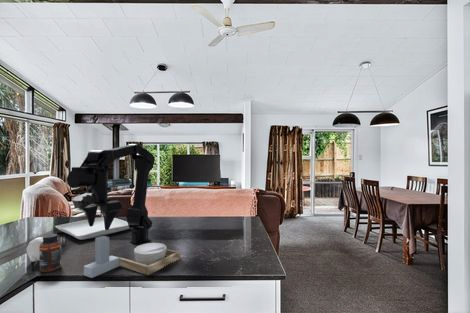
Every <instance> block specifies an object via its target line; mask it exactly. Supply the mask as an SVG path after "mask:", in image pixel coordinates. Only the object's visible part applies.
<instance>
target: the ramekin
mask: <svg viewBox="0 0 470 313" xmlns="http://www.w3.org/2000/svg"><path fill="white" fill-rule="evenodd" d="M166 249H168V248H167V245H166V244H164V243H160V242H148V243H147V242H146V243H143V244H138V245H137V246H136V247H135V248H134V249H133V253H134V256H135V262H138V263H141V264H145V265H148V266H149V265H151V264H153V263H155V262H157V261H159V260H161V259H163V258H165V253H166Z"/></svg>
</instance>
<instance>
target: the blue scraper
mask: <svg viewBox="0 0 470 313" xmlns="http://www.w3.org/2000/svg"><path fill="white" fill-rule="evenodd" d="M94 238H95V239H94V242H95V243H94V245H95V246H94V252H95V253H94V256H95V257H94V259H95V260H94V261H93V262H91V263H88V264H85V265H83V275H84V276H85V277H86V278H91V279H93V278H95V277H97V276H99V275H102V274H104V273H107V272H109V271H111V270H114V269H115V268H118V267H120V266H119V258H120V257H119V256H114V255H110V237H109V236H107V235H103V236H99V237H94Z"/></svg>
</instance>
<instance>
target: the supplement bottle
mask: <svg viewBox="0 0 470 313" xmlns="http://www.w3.org/2000/svg"><path fill="white" fill-rule="evenodd" d="M42 237H43V242H42V243H41V244H40V247H39V249H40V250H39V252H40V261H39V271H40V272H41V273H51V272H54V271H57V270H58V269H60V268H61V266H62V242H61V240H59V239H58V234H57V233H51V234H50V233H49V234H46V235H45V234H44V235H43V236H42Z"/></svg>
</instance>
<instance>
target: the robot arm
mask: <svg viewBox="0 0 470 313" xmlns="http://www.w3.org/2000/svg"><path fill="white" fill-rule="evenodd" d="M128 156H130V159H131V160H133V161H134V163H133V164H134V168H135V170H136V179H135V188H134V195H133V201H132V202H133V203H132V205H131V206H130V208H127V209H126V216H125V219H126V221H127V222H128V225H129V229H131V231H132V232H131V240H130V241H129V243H132V244H136V245H142V244H146V243H147V242H148V243H149V242H150V241H152V239H151V238H149V230H150V229H151V228H152V226H153V221H152V220H151V219H150V218H149V211H148V209H147V206H146V201H147V191H148V183H149V176H150V173H151V171H152V170H153V168H154V165H155V160H156V158H155V157H156V156H155V155H154V154H153V153H152V152H150V151H149V150H148V149H146V148H144V147H143V146H142V145H141V144H138V143H129V144H127V145H124V146H118V147H115V148H110V149H91V150H89V151H88V152H87V155H86V157H85V158H84V160H83V162H82V163H81V165H80V166H72V167H71V170H70V172H69V173H68V175H67V177H66V182H67V185H68V187H70V188H72V189H79V188H86V187H87V188H86V192H85V193H82V194H80V195H78V196H77V197H73V198H72V199H71V202H72V204H73V207H74V209H78V210H80V211H82V213H84V215H85V217H86V220H88V223H89V226H90V227H91V226H93V224H94V221H95V218H97V217H96V216H97V212H98V208H99V209H100V211H99V213H100V214H101V215H102V217H104V225H105V230H108V229H109V228H110V226H111V224H112V222H113V220H114V218H116V216H117V215H118V213H119V212H120V211H121V210H123V202H122V201H120V200H111V198H110V197H109V191H111V187H110V186H108V182H109V178H108V176H109V172H113V169H112V168H111V167H110V166H109V165H111V164H113V163H114V162H115V161H116V160H118V159H122V158H125V157H128Z"/></svg>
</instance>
